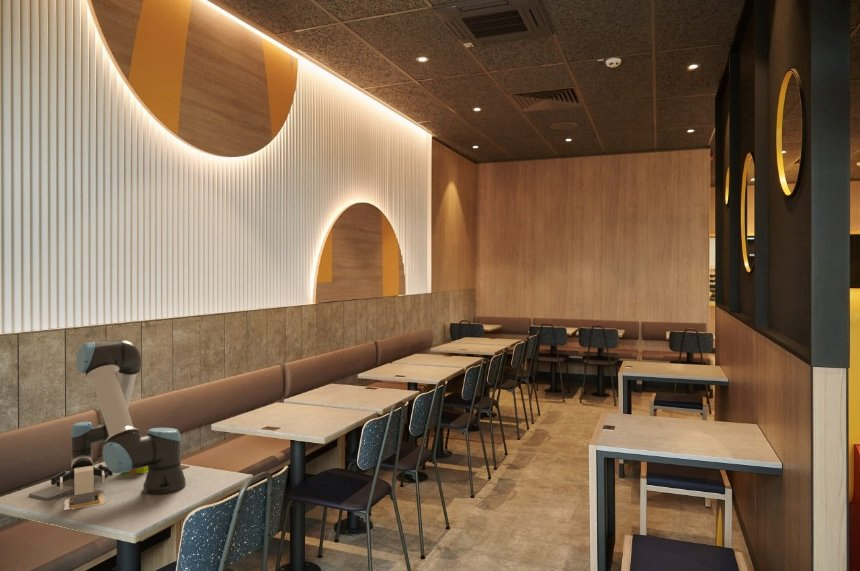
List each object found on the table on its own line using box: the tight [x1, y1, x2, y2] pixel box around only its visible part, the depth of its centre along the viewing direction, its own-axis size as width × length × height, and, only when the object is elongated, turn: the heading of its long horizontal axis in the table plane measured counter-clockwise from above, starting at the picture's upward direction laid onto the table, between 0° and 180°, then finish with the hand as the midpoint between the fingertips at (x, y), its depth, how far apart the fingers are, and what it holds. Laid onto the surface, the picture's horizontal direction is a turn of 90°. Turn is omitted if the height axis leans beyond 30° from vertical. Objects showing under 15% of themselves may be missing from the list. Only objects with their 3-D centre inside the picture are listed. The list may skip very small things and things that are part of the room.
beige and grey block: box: [73, 465, 95, 505], centre depth 215 cm, size 6×6×12 cm
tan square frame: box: [68, 491, 106, 510], centre depth 216 cm, size 13×13×1 cm
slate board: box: [28, 484, 75, 501], centre depth 224 cm, size 11×11×1 cm
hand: (82, 482), depth 217 cm, fingers open, 13 cm apart
